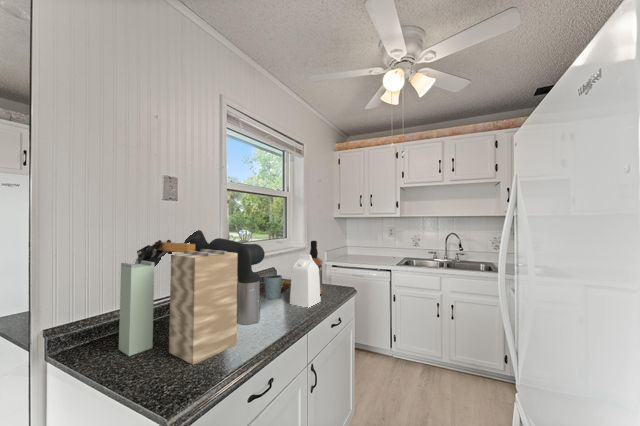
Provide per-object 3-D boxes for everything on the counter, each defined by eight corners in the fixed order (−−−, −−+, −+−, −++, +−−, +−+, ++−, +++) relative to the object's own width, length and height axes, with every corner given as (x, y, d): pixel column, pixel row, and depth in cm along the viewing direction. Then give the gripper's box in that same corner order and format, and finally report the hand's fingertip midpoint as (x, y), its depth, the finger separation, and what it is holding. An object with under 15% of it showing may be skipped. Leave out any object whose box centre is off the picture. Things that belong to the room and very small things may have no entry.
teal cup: (280, 299, 150) (280, 278, 150) (262, 299, 150) (262, 278, 151) (283, 295, 160) (283, 274, 161) (266, 294, 160) (266, 274, 161)
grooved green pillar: (118, 349, 91) (121, 262, 92) (141, 342, 97) (143, 260, 98) (128, 356, 86) (131, 265, 87) (152, 347, 92) (154, 262, 93)
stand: (168, 352, 89) (171, 251, 90) (212, 335, 102) (213, 248, 103) (193, 364, 81) (195, 254, 82) (236, 345, 94) (237, 250, 96)
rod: (154, 249, 109) (154, 241, 109) (162, 248, 112) (162, 241, 112) (187, 253, 96) (187, 244, 96) (195, 252, 98) (195, 244, 98)
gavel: (285, 289, 161) (270, 288, 163) (285, 297, 161) (270, 296, 164) (297, 280, 181) (283, 279, 184) (297, 287, 181) (283, 286, 184)
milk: (320, 302, 145) (320, 254, 146) (308, 308, 135) (308, 256, 136) (302, 299, 151) (302, 252, 152) (289, 304, 142) (289, 254, 143)
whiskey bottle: (320, 296, 157) (320, 241, 158) (303, 295, 159) (303, 241, 160) (323, 292, 167) (323, 240, 168) (307, 291, 169) (308, 240, 170)
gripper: (166, 266, 120) (185, 248, 112) (130, 271, 109) (148, 251, 101) (162, 251, 123) (180, 233, 114) (126, 254, 111) (143, 234, 103)
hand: (165, 242), depth 108 cm, fingers closed on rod, 3 cm apart
